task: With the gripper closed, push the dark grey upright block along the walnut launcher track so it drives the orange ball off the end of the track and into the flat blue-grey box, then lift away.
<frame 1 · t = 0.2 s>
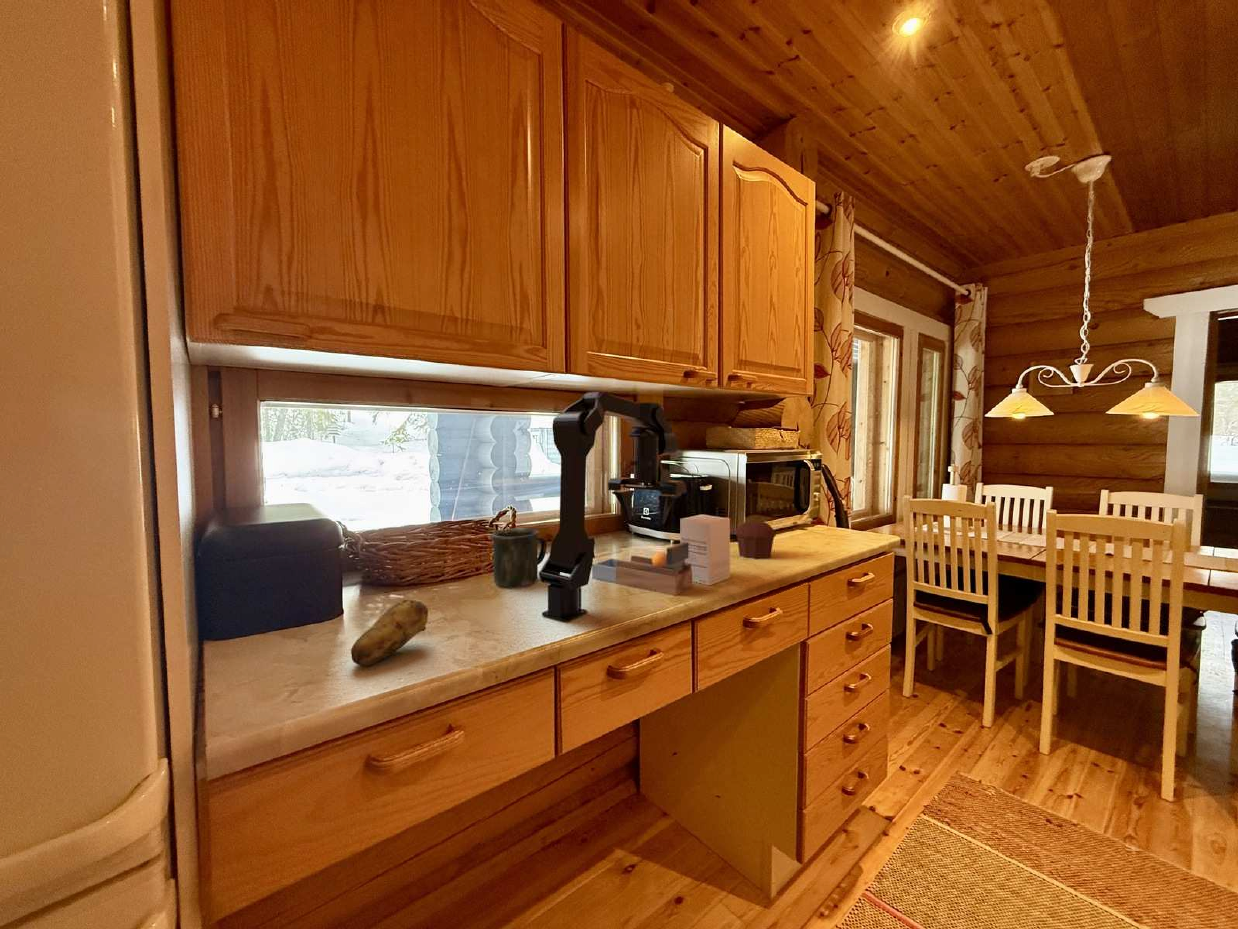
hand: (645, 522, 124), 14 cm above the worktop, tool pointing down, fingers open, 9 cm apart
ball: (660, 560, 121), point 6 cm above the worktop, touching launcher track
dark grey upright block: (675, 558, 119), point 7 cm above the worktop, slide at 0.0 cm
mug: (521, 581, 126), on the worktop
flat blue-grey box: (614, 577, 129), on the worktop
supplement box: (704, 579, 128), on the worktop
launcher track: (653, 585, 123), on the worktop
muffin: (755, 556, 152), on the worktop
potato: (390, 655, 85), on the worktop
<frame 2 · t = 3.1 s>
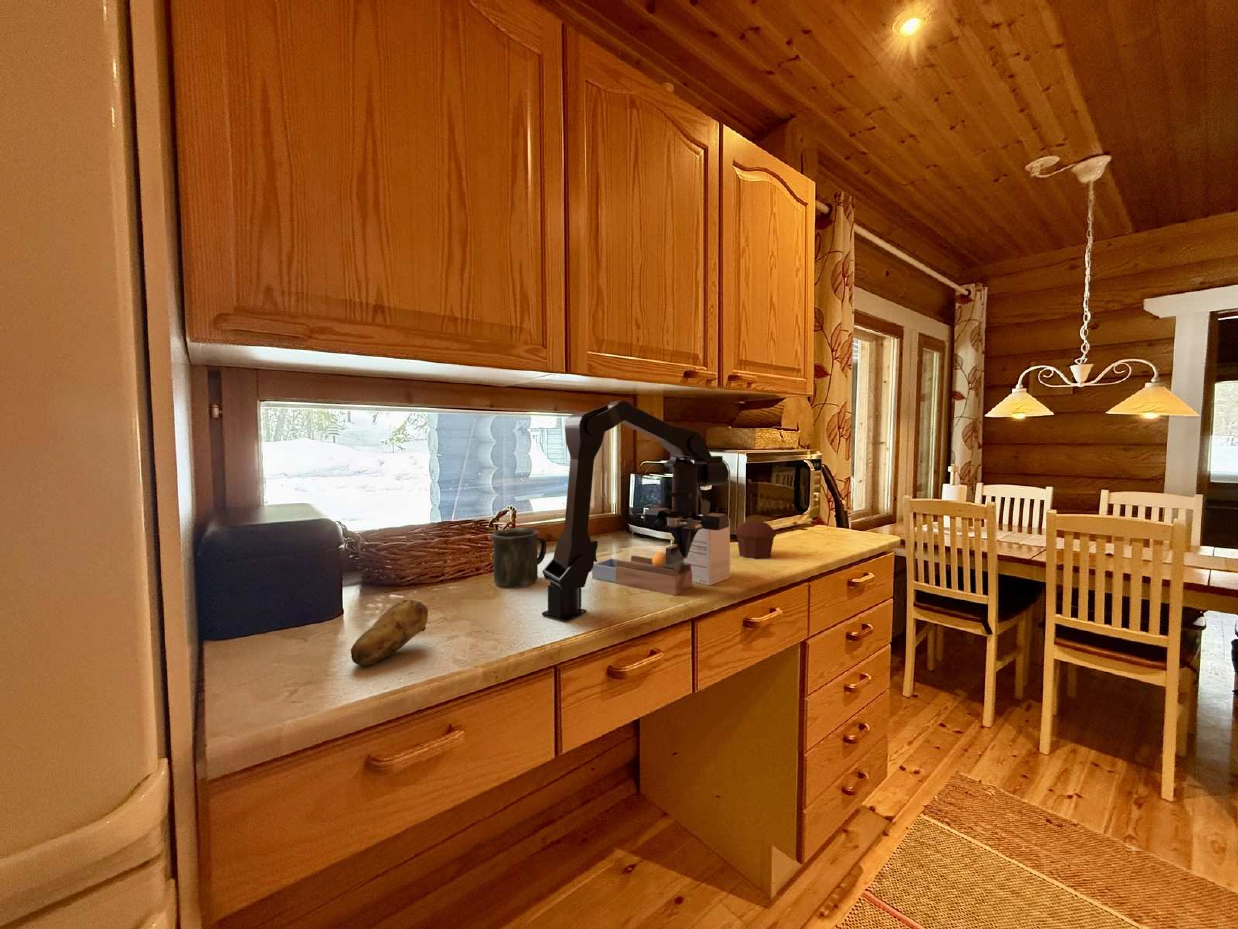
hand: (684, 556, 117), 8 cm above the worktop, tool pointing down, fingers closed
dark grey upright block: (674, 557, 119), point 7 cm above the worktop, slide at 0.3 cm, touching gripper
everything else where it was.
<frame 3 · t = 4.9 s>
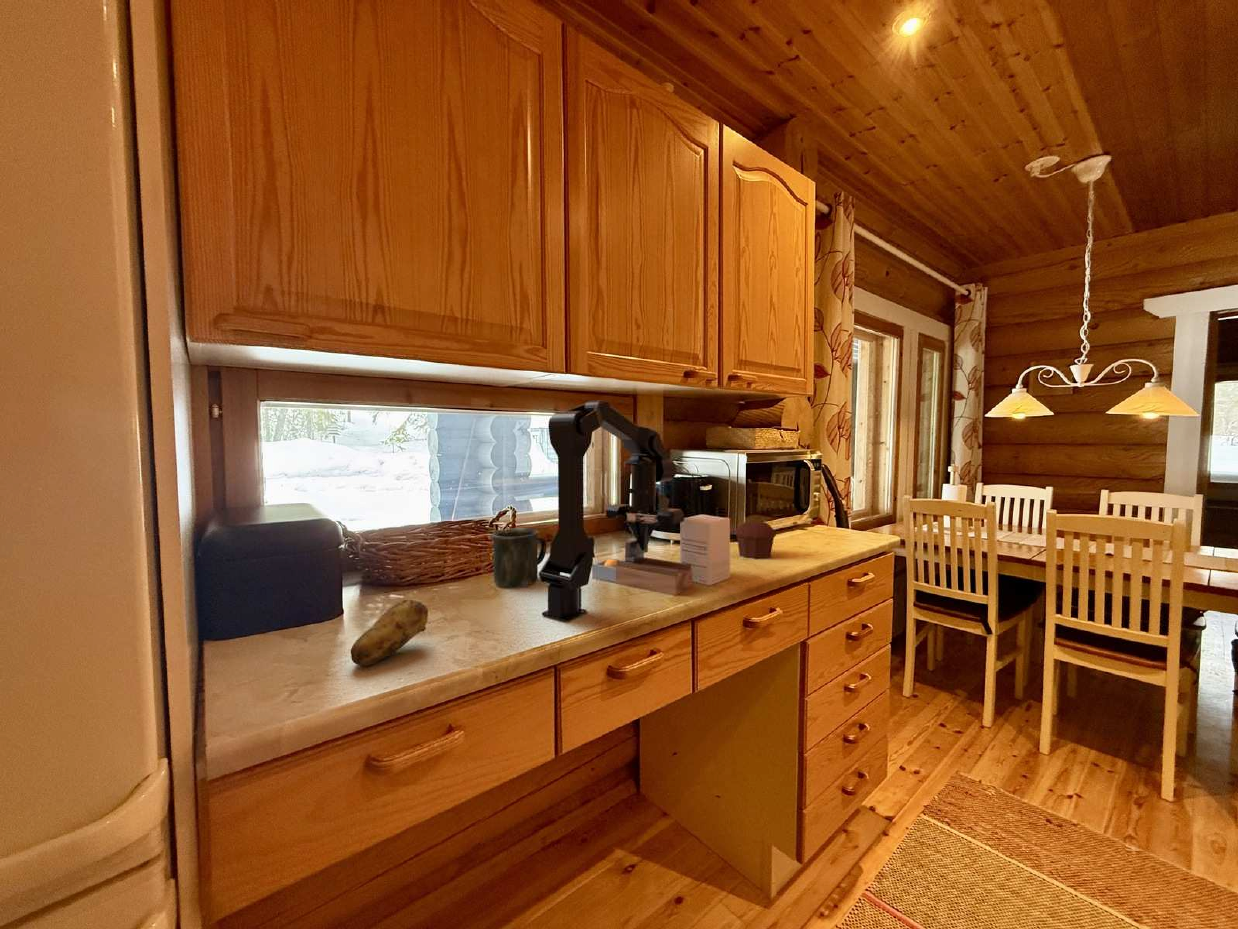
hand: (643, 549, 124), 8 cm above the worktop, tool pointing down, fingers closed
ball: (611, 567, 129), point 2 cm above the worktop, tilted 64°, touching flat blue-grey box
dark grey upright block: (634, 551, 125), point 7 cm above the worktop, slide at 11.1 cm, touching gripper
everything else where it was.
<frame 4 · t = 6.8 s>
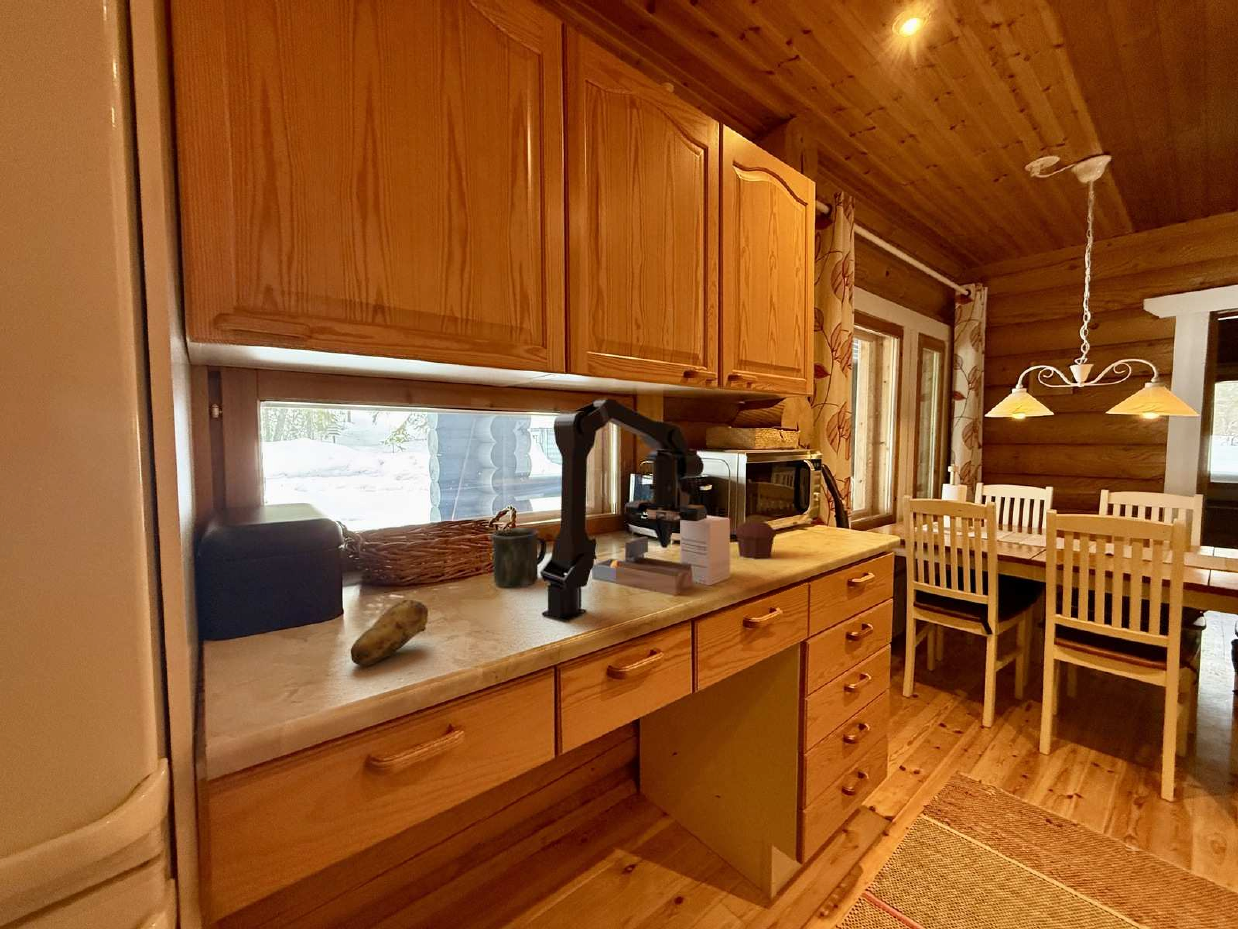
hand: (664, 547, 120), 9 cm above the worktop, tool pointing down, fingers closed
ball: (617, 568, 128), point 2 cm above the worktop, tilted 12°, touching flat blue-grey box
dark grey upright block: (634, 551, 125), point 7 cm above the worktop, slide at 11.0 cm
everything else where it was.
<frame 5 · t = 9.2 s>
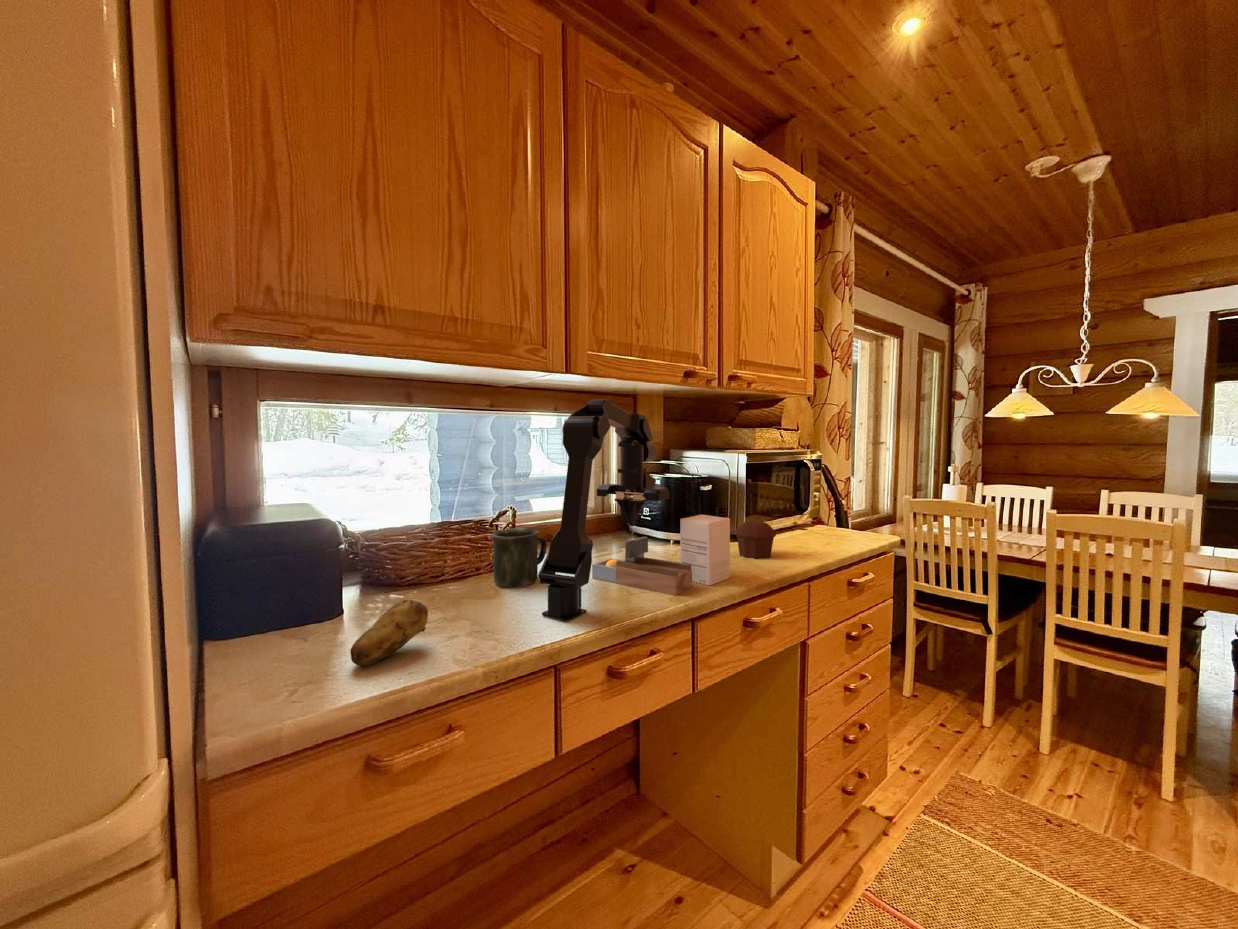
hand: (632, 526, 132), 12 cm above the worktop, tool pointing down, fingers closed
ball: (613, 567, 129), point 2 cm above the worktop, tilted 51°, touching flat blue-grey box
everything else where it was.
at the end: ball 0.3 cm off-centre on the flat blue-grey box, point 2.4 cm above the flat blue-grey box's base; dark grey upright block slide at 11.0 cm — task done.
